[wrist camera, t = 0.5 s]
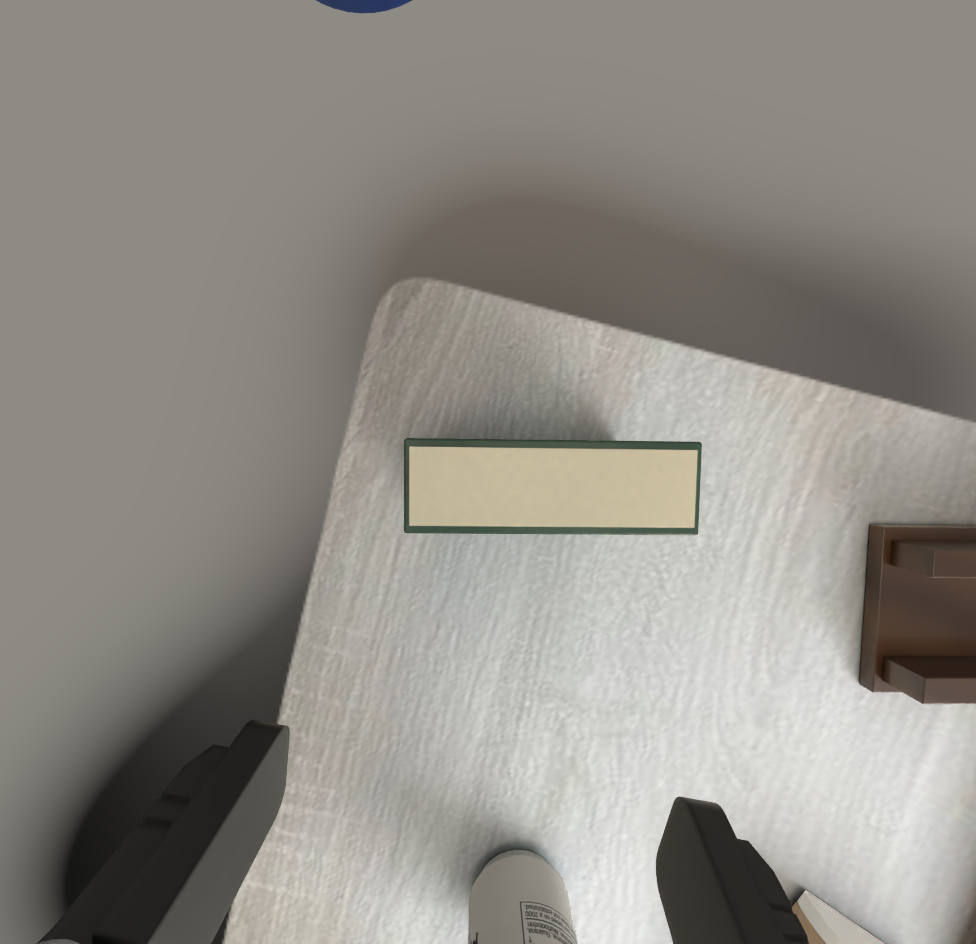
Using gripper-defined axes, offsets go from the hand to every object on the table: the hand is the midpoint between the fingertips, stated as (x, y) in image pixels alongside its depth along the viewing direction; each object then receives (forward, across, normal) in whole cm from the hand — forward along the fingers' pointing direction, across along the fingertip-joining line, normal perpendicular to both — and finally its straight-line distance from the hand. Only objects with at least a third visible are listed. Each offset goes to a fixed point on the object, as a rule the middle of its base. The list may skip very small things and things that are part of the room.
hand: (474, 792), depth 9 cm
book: (+19, -1, -3) cm, 19 cm away
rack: (+19, -30, +1) cm, 36 cm away
